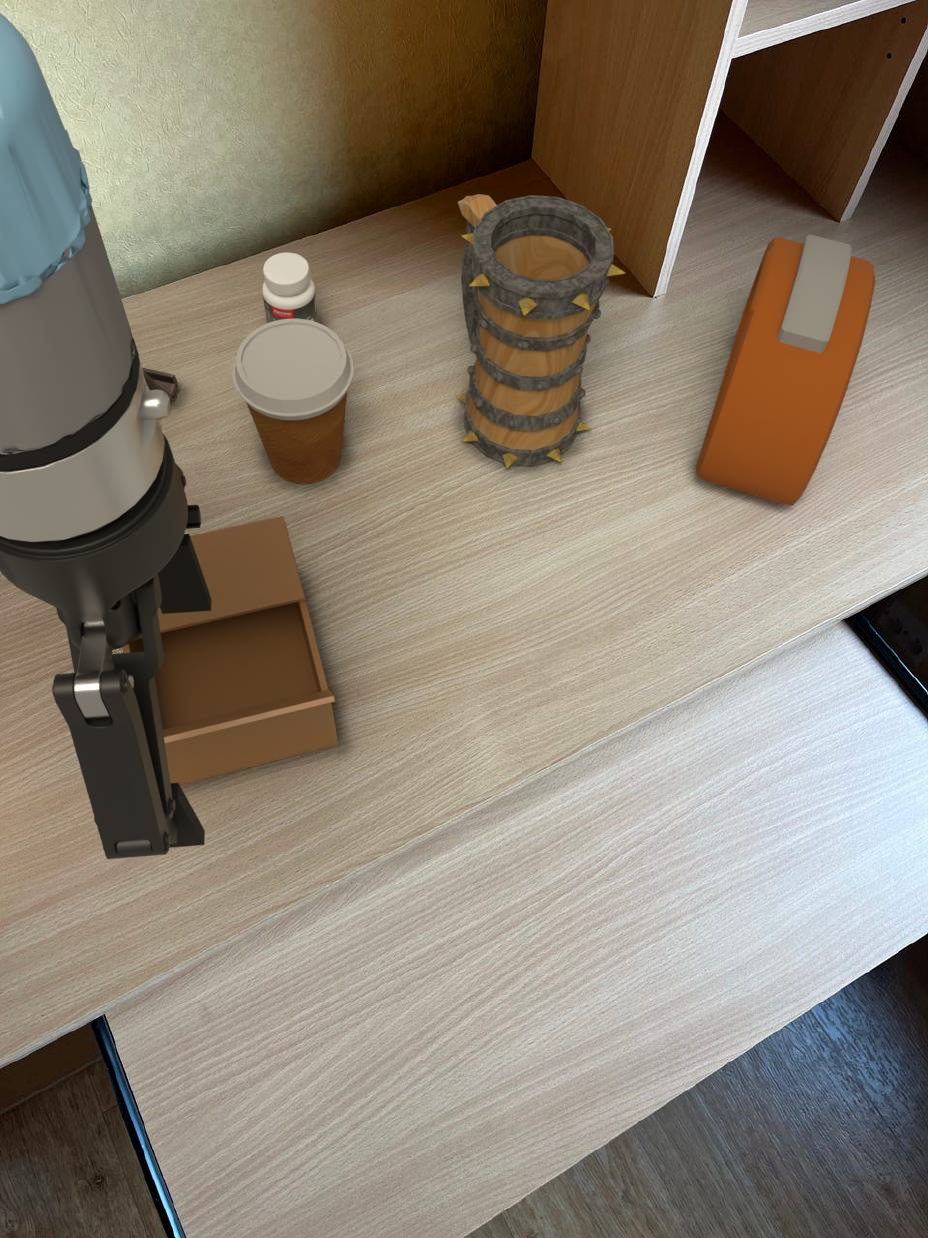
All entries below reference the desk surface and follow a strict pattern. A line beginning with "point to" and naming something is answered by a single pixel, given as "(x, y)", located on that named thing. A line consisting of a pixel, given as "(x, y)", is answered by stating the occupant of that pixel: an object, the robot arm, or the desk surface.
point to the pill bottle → (288, 288)
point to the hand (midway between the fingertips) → (182, 716)
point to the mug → (529, 321)
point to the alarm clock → (788, 368)
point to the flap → (247, 716)
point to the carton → (241, 656)
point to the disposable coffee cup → (296, 395)
